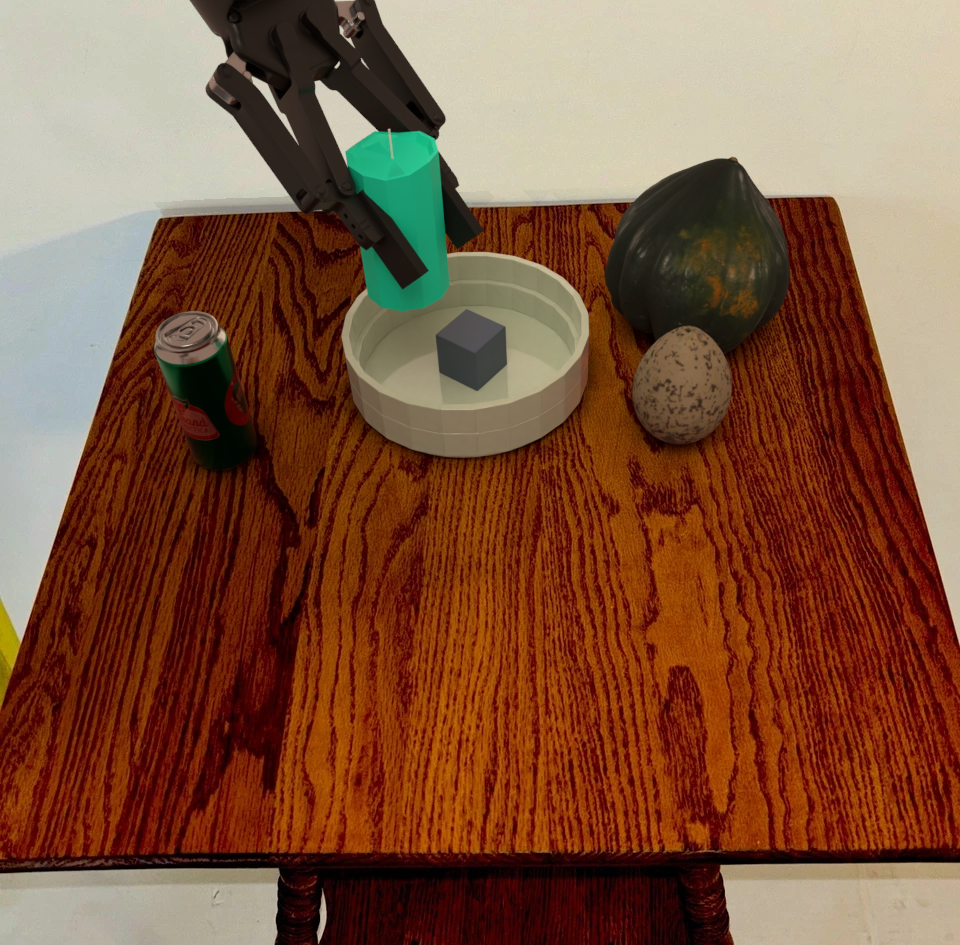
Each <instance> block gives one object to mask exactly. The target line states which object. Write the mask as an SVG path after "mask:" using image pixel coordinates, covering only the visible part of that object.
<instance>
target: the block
mask: <svg viewBox="0 0 960 945" xmlns="http://www.w3.org/2000/svg"><path fill="white" fill-rule="evenodd" d="M436 345H437V355H438V365H439V372H440V373H441V374H443V375H445V376H448V377H450V378H452V379H454V380H456V381H458V382H460V383H462V384H464V385H466V386H468V387H470V388H472V389H474V390H476V391H478V390H479V389H480V388H482V387H483V386H484V385H485V384H486V383H487V382H488V381H489V380H490V379H491V378H493V377H494V376H495V375H496V374H497V373H498V372H499V371H500V370H501V369H502V368H504V367H505V366H506V365H507V350H506V327H505V326H503V325H501V324H499V323H497V322H494V321H492V320H490V319H488V318H486V317H483V316H481V315H479V314H477V313H474V312H472V311H470V310H468V309H466V310H465V311H463V312H462V313H461V314H460V315H459V316H457V317H456V318H455V319H454V320H453V321H451V322H450V323H449V324H448V325H447V326H445V327H444V328H443V329H442V330H441V331H439V332H438V333H437V334H436Z"/></svg>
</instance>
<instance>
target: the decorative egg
mask: <svg viewBox="0 0 960 945" xmlns="http://www.w3.org/2000/svg"><path fill="white" fill-rule="evenodd" d="M732 392H733V381H732V374H731V370H730V366H729V364H728V361H727V358H726V356H725V354H723V352H722V351H721V349H720V348H719V346H718V345H717V344H716V343H715V341H714V340H713V339H712V338H711V337H710V336H709V335H708V334H706V333H705V332H704V331H702V330H701V329H699V328H697V327H693V326H682V327H679V328H676V329H674V330H672V331H670V332H668V333H666V334H665V335H664V336H662V337H661V338H659V339H658V340H657V341H656V340H655V342H654V343H653V344H652V345H651V346H650V347H649V348H648V350H646V351H645V354H644V355H643V357H642V358H641V359H640V361H639V363H638V365H637V368H636V371H635V374H634V376H633V382H632V392H631V393H632V395H631V396H632V403H633V407H634V411H635V414H636V417H637V418H638V420H639V422H640V423H641V425H642V427H643V428H644V429H645V431H647V433H649V434H650V435H651V436H652V437H654V438H655V439H657V440H660V441H661V442H664V443H668V444H671V445H688V444H692V443H696V442H697V441H700V440H703V439H705V438H706V437H708V436H709V435H710V434H711V433H713V432H714V431H715V430H716V429H717V428H718V426H720V424H721V423H722V421H723V420H724V418H725V416H726V414H727V412H728V410H729V407H730V403H731V400H732V399H731V398H732Z"/></svg>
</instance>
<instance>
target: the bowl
mask: <svg viewBox="0 0 960 945" xmlns="http://www.w3.org/2000/svg"><path fill="white" fill-rule="evenodd" d="M447 260H448V271H449V283H450V285H449V287H448V289H447V291H446V292H445V294H444V296H443V297H442V298H441V299H440V300H438V301H436V302H434V303H433V304H431V305H429V306H427V307H425V308H421V309H415V310H408V311H398V310H392V309H387V308H382V307H380V306H379V305H378V304H376V303H375V302H374V301H373V300H371V299H370V298H369V297H368V292H367V287H366V288H365V289H364V290H363V291H362V292H360V293H359V294H358V296H356V298H355V299H354V301H353V303H352V304H351V306H350V308H349V309H348V311H347V312H346V314H345V317H344V321H343V326H342V331H341V336H340V337H341V343H342V347H343V348H342V349H343V353H344V358H345V364H346V369H347V375H348V380H349V385H350V390H351V395H352V400H353V403H354V405H355V406H356V408H357V409H358V411H359V413H360V414H361V416H362V417H363V419H364V420H365V422H366V423H367V424H369V426H371V427H372V428H373V429H375V430H376V431H377V433H379V434H381V435H382V436H383V437H384V438H386V439H387V440H390V441H391V442H394V443H396V444H398V445H400V446H403V447H405V448H408V449H410V450H412V451H416V452H420V453H423V454H428V455H431V456H438V457H445V458H460V459H463V458H464V459H465V458H467V459H468V458H482V457H488V456H494V455H499V454H503V453H508V452H511V451H513V450H516V449H520V448H523V447H524V446H526V445H529V444H531V443H532V442H536V441H537V440H539V439H542V438H544V436H546V435H548V434H549V433H550V432H552V431H553V430H554V429H556V428H557V427H559V426H560V425H561V424H563V423H564V422H565V421H566V420H567V419H568V417H569V416H570V415H571V414H572V413H573V411H574V410H575V409H576V408H577V406H578V405H579V404H580V403H581V400H582V397H583V395H584V392H585V389H586V387H587V384H588V380H589V350H590V349H589V348H590V316H589V312H588V309H587V307H586V304H585V303H584V301H583V299H582V297H581V294H580V293H579V292H578V291H577V290H576V289H575V287H573V286H572V285H571V284H570V283H569V282H568V281H567V280H566V279H565V278H564V277H563V276H561V275H560V274H558V273H556V272H555V271H552V270H551V269H549V267H546V266H544V265H542V264H541V263H538V262H534V261H531V260H528V259H526V258H522V257H519V256H515V255H510V254H504V253H496V252H490V251H458V252H450V253H447ZM466 309H468V310H470V311H472V312H474V313H477V314H479V315H481V316H483V317H486V318H488V319H490V320H492V321H494V322H497V323H499V324H501V325H503V326H505V327H506V350H507V365H506V366H505V367H504V368H502V369H501V370H500V371H499V372H498V373H497V374H496V375H495V376H494V377H493V378H491V379H490V380H489V381H488V382H487V383H486V384H485V385H484V386H483V387H482V388H480V389H479V390H478V391H476V390H474V389H472V388H470V387H468V386H466V385H464V384H462V383H460V382H458V381H456V380H454V379H452V378H450V377H448V376H445V375H443V374H441V373H440V372H439V365H438V355H437V345H436V334H437V333H438V332H439V331H441V330H442V329H443V328H444V327H445V326H447V325H448V324H449V323H450V322H451V321H453V320H454V319H455V318H456V317H457V316H459V315H460V314H461V313H462V312H463V311H465V310H466Z"/></svg>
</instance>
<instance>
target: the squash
mask: <svg viewBox="0 0 960 945" xmlns="http://www.w3.org/2000/svg"><path fill="white" fill-rule="evenodd" d="M790 277H791V266H790V260H789V248H788V242H787V238H786V236H785V232H784V229H783V226H782V224H781V221H780V219H779V217H778V216H777V214H776V212H775V210H774V209H773V207H772V205H771V204H770V203H769V201H768V199H767V198H766V197H765V196H764V195H763V193H762V192H761V191H760V189H759V188H758V186H757V185H756V183H755V182H754V181H753V179H752V177H751V176H750V175H749V173H748V171H747V170H746V168H745V167H744V166H743V165H742V164H741V163H740V162H739V159H738V158H737V157H735V156H731V157H729V158H726V157H725V158H723V157H719V158H712V159H710V160H709V159H708V160H706V161H702V162H700V163H698V164H694V165H692V166H689V167H687V168H684V169H682V170H679V171H675V172H674V173H671V174H669V175H667V176H666V177H663V178H662V179H661V180H659V181H657V182H656V183H654V184H652V185H651V186H649V187H648V188H647V189H646V190H644V191H643V192H642V193H641V194H640V195H639V196H638V197H636V198H635V199H634V201H632V203H631V204H630V205H629V206H628V207H627V209H626V210H625V211H624V213H623V214H622V216H621V217H620V220H619V222H618V224H617V227H616V230H615V233H614V240H613V242H612V243H611V246H610V249H609V252H608V256H607V260H606V265H605V269H604V282H605V286H606V288H607V290H608V292H609V294H610V297H611V298H610V299H611V300H610V301H611V304H612V306H613V308H614V309H615V310H616V311H617V312H618V313H620V314H621V315H622V316H623V317H624V318H625V320H626V322H627V323H628V324H629V325H630V326H631V327H632V328H633V329H635V330H637V331H638V332H641V333H644V334H653V336H654V340H655V342H656V341H657V340H658V339H659V338H661V337H662V336H664V335H665V334H666V333H668V332H670V331H672V330H674V329H676V328H679V327H682V326H693V327H697V328H699V329H701V330H702V331H704V332H705V333H706V334H708V335H709V336H710V337H711V338H712V339H713V340H714V341H715V343H716V344H717V345H718V346H719V348H720V349H721V351H722V352H723V354H724V355H725V354H727V353H729V352H730V351H733V350H735V349H736V348H737V347H738V346H740V345H741V344H742V343H743V342H745V340H747V339H748V338H749V337H750V335H752V333H754V332H757V331H759V330H760V329H762V328H763V327H765V326H766V325H768V324H769V323H770V322H771V321H772V320H773V319H774V317H775V316H776V315H777V314H778V312H779V311H780V310H781V308H782V306H783V305H784V302H785V299H786V297H787V294H788V289H789V285H790Z"/></svg>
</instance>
